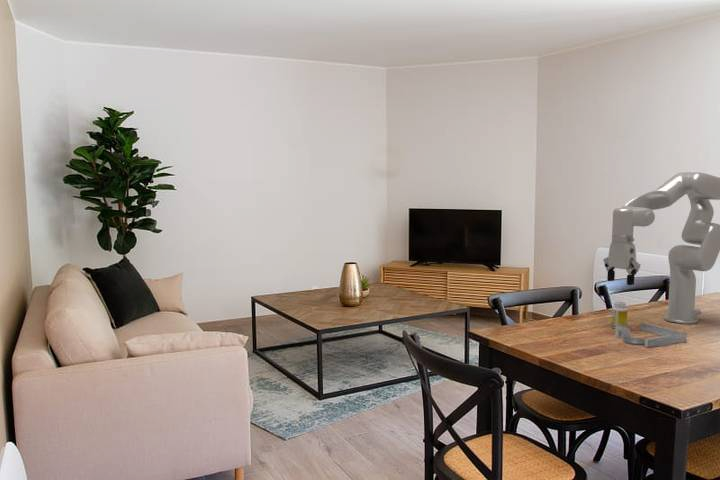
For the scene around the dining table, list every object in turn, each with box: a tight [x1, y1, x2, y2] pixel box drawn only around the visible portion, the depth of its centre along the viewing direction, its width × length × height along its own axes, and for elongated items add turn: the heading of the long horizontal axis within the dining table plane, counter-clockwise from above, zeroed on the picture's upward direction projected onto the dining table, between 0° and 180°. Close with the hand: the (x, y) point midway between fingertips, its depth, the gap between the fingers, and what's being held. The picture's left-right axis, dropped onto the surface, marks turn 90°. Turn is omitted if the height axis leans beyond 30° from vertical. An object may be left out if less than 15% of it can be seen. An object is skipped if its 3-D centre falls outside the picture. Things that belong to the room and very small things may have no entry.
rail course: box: [614, 321, 688, 349], centre depth 216 cm, size 19×19×3 cm
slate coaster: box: [622, 336, 645, 346], centre depth 211 cm, size 8×8×1 cm
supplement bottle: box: [611, 301, 628, 329], centre depth 230 cm, size 6×6×10 cm
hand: (620, 282), depth 228 cm, fingers open, 9 cm apart
